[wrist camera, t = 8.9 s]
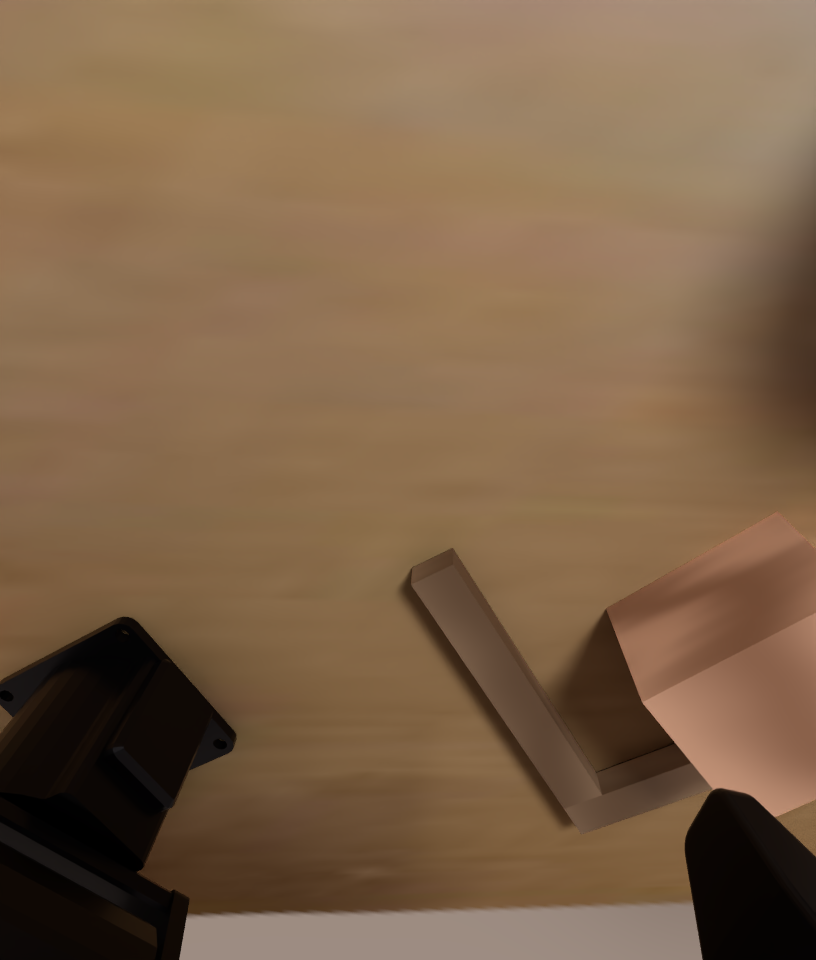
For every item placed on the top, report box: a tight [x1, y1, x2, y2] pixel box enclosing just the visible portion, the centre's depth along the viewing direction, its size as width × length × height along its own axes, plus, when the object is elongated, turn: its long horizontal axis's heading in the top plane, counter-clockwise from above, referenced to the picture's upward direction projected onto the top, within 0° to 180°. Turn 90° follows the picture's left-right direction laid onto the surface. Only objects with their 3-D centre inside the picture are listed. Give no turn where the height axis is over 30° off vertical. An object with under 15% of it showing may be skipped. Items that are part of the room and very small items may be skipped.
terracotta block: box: [606, 511, 816, 817], centre depth 20 cm, size 6×6×4 cm
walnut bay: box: [411, 548, 712, 834], centre depth 22 cm, size 15×12×1 cm
